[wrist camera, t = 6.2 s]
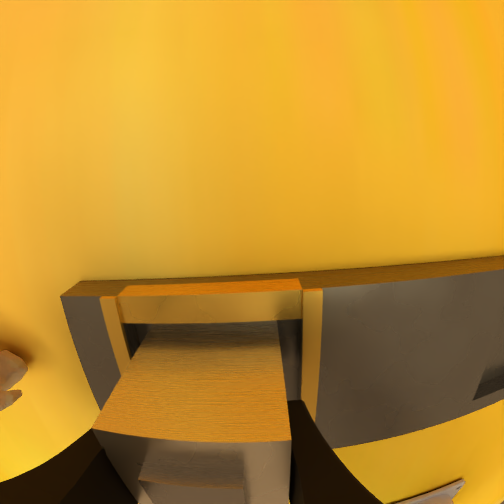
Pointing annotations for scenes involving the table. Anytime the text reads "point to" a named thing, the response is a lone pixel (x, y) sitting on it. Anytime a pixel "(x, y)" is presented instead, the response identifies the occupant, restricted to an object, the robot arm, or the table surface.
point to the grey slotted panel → (328, 337)
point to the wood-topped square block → (201, 416)
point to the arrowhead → (10, 377)
